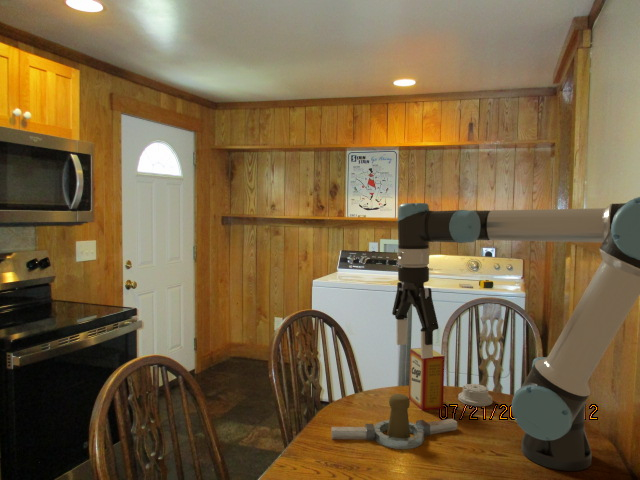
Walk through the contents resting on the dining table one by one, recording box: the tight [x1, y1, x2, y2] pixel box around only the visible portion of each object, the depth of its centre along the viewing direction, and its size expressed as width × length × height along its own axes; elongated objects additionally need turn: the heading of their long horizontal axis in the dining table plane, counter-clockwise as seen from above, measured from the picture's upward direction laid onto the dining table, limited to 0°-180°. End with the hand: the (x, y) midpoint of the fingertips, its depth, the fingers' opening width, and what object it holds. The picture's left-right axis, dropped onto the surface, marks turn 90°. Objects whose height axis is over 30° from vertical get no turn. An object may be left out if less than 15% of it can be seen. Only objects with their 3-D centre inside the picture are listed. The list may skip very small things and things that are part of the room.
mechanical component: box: [457, 383, 493, 407], centre depth 156 cm, size 10×4×10 cm
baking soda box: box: [408, 347, 446, 412], centre depth 153 cm, size 10×6×16 cm
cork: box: [386, 393, 411, 438], centre depth 130 cm, size 6×6×11 cm
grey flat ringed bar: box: [331, 418, 458, 450], centre depth 131 cm, size 33×13×3 cm, turn 91°
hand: (413, 350), depth 128 cm, fingers open, 13 cm apart
